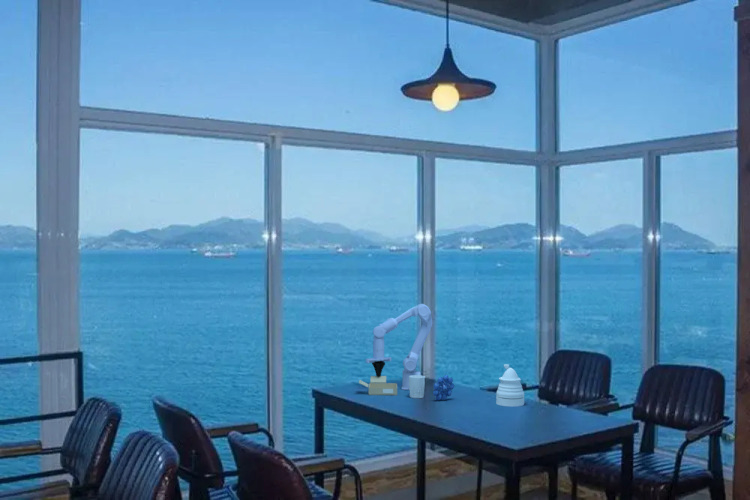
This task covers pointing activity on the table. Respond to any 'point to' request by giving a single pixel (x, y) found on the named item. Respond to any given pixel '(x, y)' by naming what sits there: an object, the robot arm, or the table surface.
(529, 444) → the table surface
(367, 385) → the flap far
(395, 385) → the carton
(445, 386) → the grapes
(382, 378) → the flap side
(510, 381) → the honey pot
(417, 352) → the robot arm
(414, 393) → the white cup
